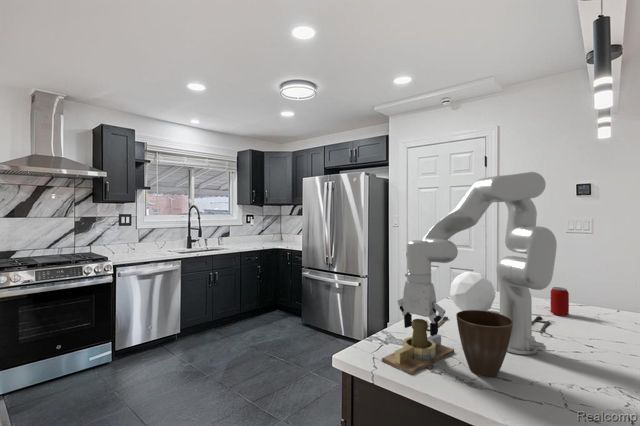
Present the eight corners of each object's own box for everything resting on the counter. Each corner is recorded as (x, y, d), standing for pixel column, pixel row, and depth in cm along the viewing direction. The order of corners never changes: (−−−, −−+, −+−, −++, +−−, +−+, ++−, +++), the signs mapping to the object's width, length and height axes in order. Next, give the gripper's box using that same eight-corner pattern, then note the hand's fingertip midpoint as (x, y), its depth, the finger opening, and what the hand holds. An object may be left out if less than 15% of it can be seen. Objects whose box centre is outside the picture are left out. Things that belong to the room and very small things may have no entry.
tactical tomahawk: (442, 337, 126) (442, 334, 126) (425, 332, 130) (425, 329, 130) (458, 322, 142) (459, 320, 142) (443, 317, 146) (443, 315, 146)
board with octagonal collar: (425, 342, 119) (425, 339, 119) (454, 352, 110) (454, 349, 110) (381, 361, 104) (381, 358, 104) (411, 374, 95) (411, 371, 95)
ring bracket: (425, 340, 118) (425, 330, 118) (451, 349, 110) (451, 338, 110) (384, 358, 104) (384, 347, 104) (411, 369, 96) (411, 357, 96)
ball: (462, 328, 152) (435, 293, 155) (474, 304, 166) (449, 272, 169) (499, 317, 139) (469, 278, 141) (508, 292, 153) (480, 257, 156)
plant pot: (525, 380, 92) (525, 323, 92) (482, 388, 87) (482, 328, 87) (485, 357, 106) (484, 308, 106) (445, 363, 102) (445, 312, 102)
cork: (406, 351, 108) (406, 318, 108) (420, 348, 111) (419, 315, 111) (419, 359, 103) (419, 324, 103) (433, 355, 106) (433, 321, 106)
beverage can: (568, 313, 152) (567, 287, 152) (569, 317, 146) (569, 290, 146) (550, 311, 155) (550, 286, 155) (551, 315, 149) (550, 288, 149)
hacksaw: (537, 318, 146) (537, 315, 146) (565, 324, 139) (565, 320, 139) (520, 331, 130) (520, 328, 130) (551, 339, 122) (551, 335, 122)
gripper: (390, 276, 111) (392, 326, 111) (436, 284, 98) (438, 341, 98) (404, 273, 116) (405, 321, 116) (450, 280, 103) (451, 335, 103)
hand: (420, 330), depth 107 cm, fingers open, 9 cm apart
